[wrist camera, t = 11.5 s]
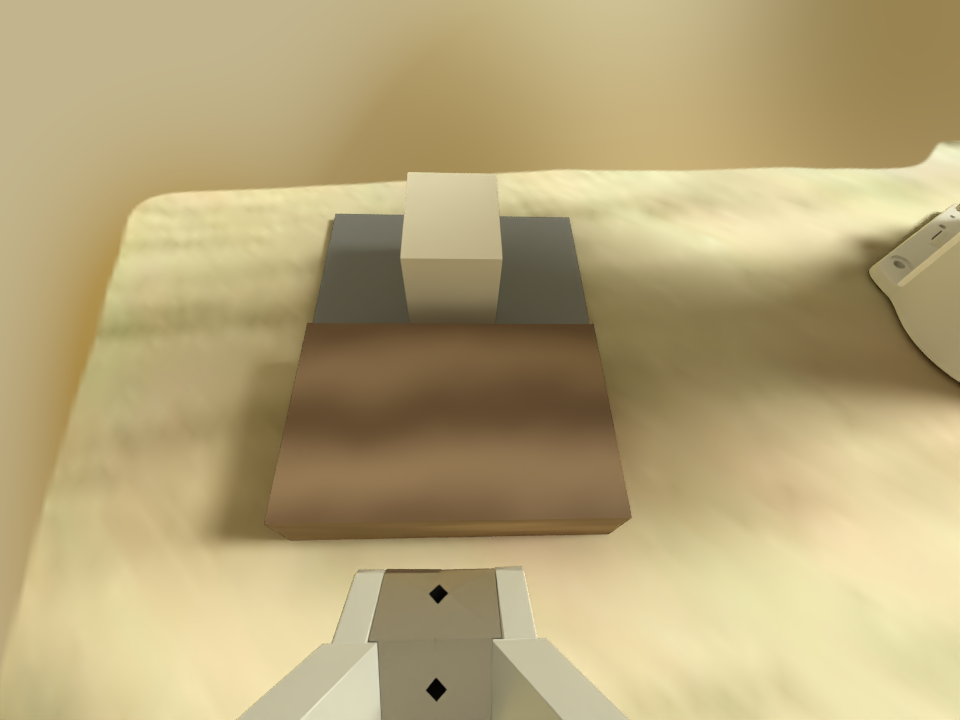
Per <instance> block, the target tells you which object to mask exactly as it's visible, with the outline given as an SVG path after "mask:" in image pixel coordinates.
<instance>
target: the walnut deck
mask: <svg viewBox="0 0 960 720" xmlns="http://www.w3.org/2000/svg"><path fill="white" fill-rule="evenodd" d="M630 518H632V516H631V511H630V506H629V501H628V496H627V491H626V486H625V481H624V476H623V471H622V466H621V461H620V456H619V451H618V446H617V441H616V436H615V431H614V425H613V420H612V415H611V410H610V405H609V400H608V395H607V390H606V385H605V380H604V375H603V370H602V365H601V360H600V355H599V350H598V345H597V340H596V334H595V329H594V324H420V323H307V327H306V332H305V337H304V341H303V346H302V350H301V355H300V360H299V364H298V369H297V373H296V378H295V383H294V387H293V392H292V396H291V401H290V406H289V410H288V415H287V420H286V424H285V429H284V433H283V438H282V443H281V447H280V452H279V456H278V461H277V466H276V470H275V475H274V479H273V484H272V489H271V493H270V498H269V502H268V507H267V512H266V516H265V521H264V525H266V526H268V527H269V528H271V529H272V530H274V531H276V532H277V533H279V534H281V535H282V536H284V537H285V538H287V539H289V540H325V539H376V538H426V537H477V536H527V535H577V534H610V533H611V532H612V531H614V530H615V529H616V528H618V527H619V526H621V525H622V524H623V523H625V522H626V521H628V520H629V519H630Z"/></svg>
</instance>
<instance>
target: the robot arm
mask: <svg viewBox="0 0 960 720" xmlns="http://www.w3.org/2000/svg"><path fill="white" fill-rule="evenodd" d="M869 274H870V276H871V278H872V279H873V280H874V282H875V283H876V284H877V285H878V286H879V288H880V289H881V290H882V291H883V292H884V293H885V294H886V295H887V296H888V297H889V298H890V300H891V302H892V303H893V305H894V307H895V310H896V312H897V315H898V317H899V319H900V321H901V323H902V325H903V327H904V329H905V330H906V332H907V333H908V335H909V336H910V337H911V339H912V340H913V341H914V343H915V344H916V345H917V346H918V347H919V348H920V350H921V351H922V352H923V353H924V354H925V355H926V356H927V357H928V358H929V359H930V360H931V361H933V362H934V363H935V364H936V365H937V366H938V367H940V368H941V369H942V370H943V371H944V372H946V373H947V374H948V375H950V376H951V377H953V378H954V379H955V380H957V381H958V382H960V204H954V205H952V206H950V207H949V208H947V209H946V210H945V211H943V212H942V213H941V214H939V215H938V216H937V217H935V218H934V219H933V220H931V221H930V222H929V223H928V224H926V225H925V226H924V227H922V228H921V229H920V230H918V231H917V232H916V233H915V234H913V235H912V236H911V237H909V238H908V239H907V240H906V241H904V242H903V243H902V244H900V245H899V246H898V247H896V248H895V249H894V250H893V251H891V252H890V253H889V254H887V255H886V256H885V257H884V258H882V259H881V260H880V261H878V262H877V263H876V264H874V265H873V266H872V267H871V268H870V270H869ZM236 720H629V719H628V718H627V717H626V716H625V715H624V714H623V713H622V712H621V711H620V710H619V709H618V708H617V707H616V706H615V705H614V704H613V703H612V702H611V701H610V700H609V699H608V698H607V697H606V696H605V695H604V694H603V693H602V692H601V691H600V690H599V689H598V688H597V687H596V686H595V685H594V684H593V683H592V682H591V681H590V680H589V679H588V678H587V677H585V676H584V675H583V674H582V673H581V672H580V671H579V670H578V669H577V668H576V667H575V666H574V665H573V664H572V663H571V662H570V661H569V660H568V659H567V658H566V657H565V656H564V655H563V654H562V653H561V652H560V651H559V650H558V649H557V648H556V647H555V646H554V645H553V644H552V643H551V642H550V641H549V640H548V639H547V638H537V633H536V628H535V623H534V618H533V613H532V608H531V603H530V598H529V593H528V588H527V583H526V578H525V573H524V569H523V568H522V567H521V566H515V567H495V569H494V568H492V569H452V570H441V569H387V570H384V569H381V570H358V571H357V573H356V574H355V575H354V578H353V581H352V583H351V586H350V589H349V592H348V595H347V598H346V601H345V604H344V607H343V610H342V613H341V616H340V619H339V622H338V625H337V628H336V631H335V634H334V637H333V640H332V643H331V644H322V645H320V646H319V647H318V648H317V649H316V650H315V651H314V652H313V653H311V654H310V655H309V656H308V657H307V658H306V659H305V660H303V661H302V662H301V663H300V664H299V665H298V666H297V667H295V668H294V669H293V670H292V671H291V672H290V673H289V674H287V675H286V676H285V677H284V678H283V679H282V680H281V681H280V682H278V683H277V684H276V685H275V686H274V687H273V688H272V689H270V690H269V691H268V692H267V693H266V694H265V695H264V696H262V697H261V698H260V699H259V700H258V701H257V702H256V703H254V704H253V705H252V706H251V707H250V708H249V709H248V710H247V711H245V712H244V713H243V714H242V715H241V716H240V717H239V718H237V719H236Z"/></svg>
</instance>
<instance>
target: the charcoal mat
mask: <svg viewBox="0 0 960 720" xmlns="http://www.w3.org/2000/svg"><path fill="white" fill-rule="evenodd" d="M499 218H500V231H501V245H502V258H503V260H502V269H501V277H500V286H499V294H498V302H497V311H496V319H495V324H589V318H588V313H587V308H586V303H585V298H584V292H583V287H582V282H581V277H580V272H579V266H578V261H577V256H576V251H575V246H574V240H573V235H572V230H571V225H570V220H569V218H563V217H500V216H499ZM403 221H404V215H374V214H335V219H334V224H333V229H332V233H331V238H330V243H329V248H328V252H327V257H326V262H325V267H324V272H323V276H322V281H321V286H320V291H319V295H318V300H317V305H316V310H315V314H314V319H313V323H410V321H409V314H408V307H407V301H406V294H405V287H404V280H403V274H402V267H401V260H400V255H401V244H402V233H403Z"/></svg>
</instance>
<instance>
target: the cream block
mask: <svg viewBox="0 0 960 720" xmlns="http://www.w3.org/2000/svg"><path fill="white" fill-rule="evenodd" d="M400 260H401V267H402V274H403V280H404V287H405V294H406V301H407V307H408V314H409V321H410V323H420V324H495V319H496V311H497V302H498V294H499V286H500V277H501V269H502V260H503V258H502V245H501V231H500V218H499V205H498V192H497V179H496V174H474V173H470V174H469V173H423V172H420V173H419V172H408V176H407V187H406V199H405V210H404V221H403V233H402V244H401V255H400Z"/></svg>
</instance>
